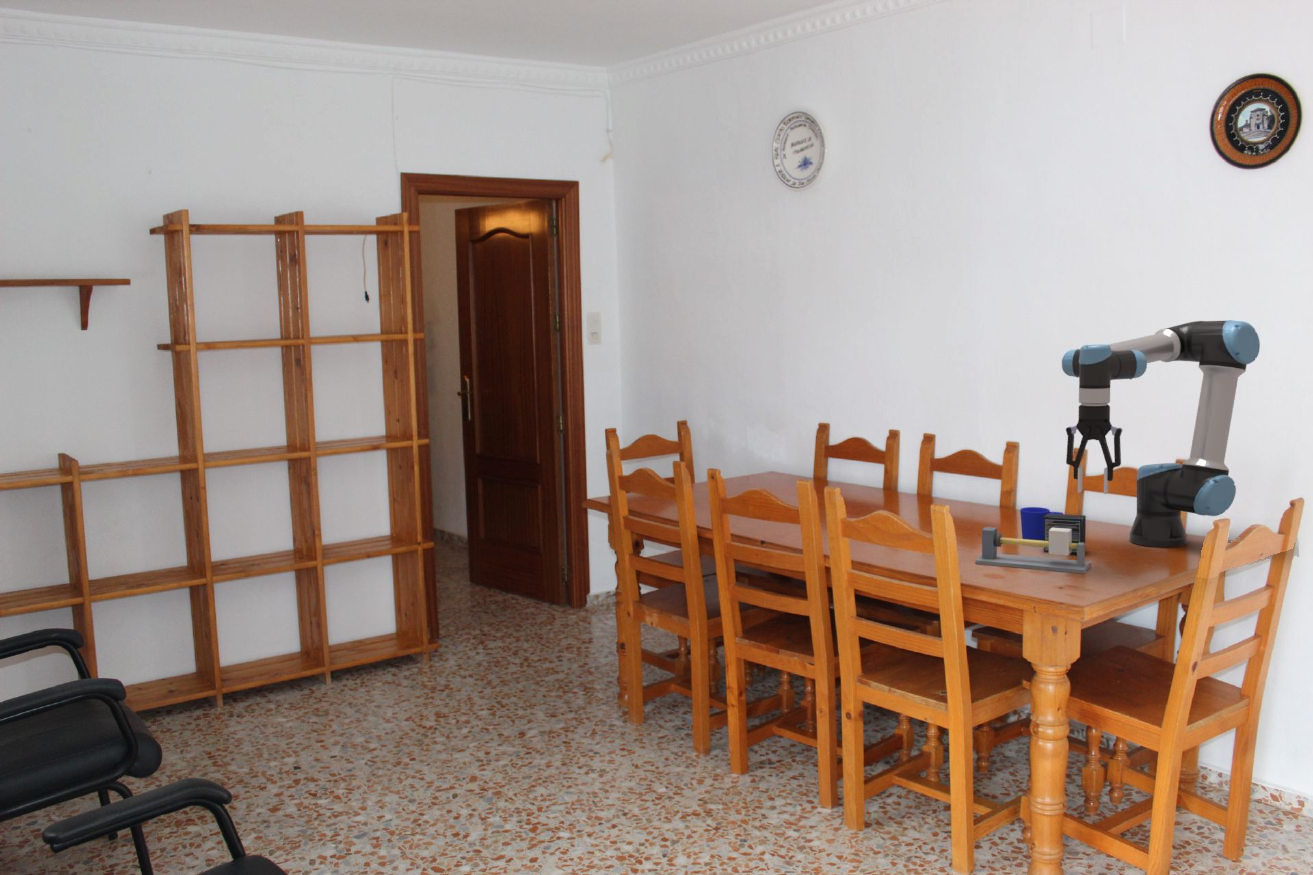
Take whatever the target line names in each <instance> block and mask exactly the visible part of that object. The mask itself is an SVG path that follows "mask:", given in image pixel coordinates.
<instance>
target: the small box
mask: <svg viewBox="0 0 1313 875" xmlns="http://www.w3.org/2000/svg"><path fill="white" fill-rule="evenodd" d="M1086 518H1087V516H1086V515H1080V514H1079V515H1078V514H1066V513H1063V514H1050V513H1048V514H1047V515H1045V516H1044V541H1049V530H1050V529H1051V528H1052V527H1053V528H1067V529H1072V539H1071V543H1079V542H1080V543H1085V544H1086V528H1087V526H1086V525H1087V523H1086ZM1043 553H1046V554H1049V547H1043ZM1069 555H1076V556H1077V549H1071V553H1070V554H1069Z"/></svg>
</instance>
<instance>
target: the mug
mask: <svg viewBox="0 0 1313 875" xmlns="http://www.w3.org/2000/svg"><path fill="white" fill-rule="evenodd" d="M1019 511H1020V524H1021V539H1027V540H1040V541H1044V516H1045V515H1047V514H1048V513H1050V514H1064V513H1063V512H1061V511H1051V510H1050V509H1049V508H1045V507H1038V506H1028V507H1027V506H1026V507H1022V508H1021V507H1020V510H1019Z"/></svg>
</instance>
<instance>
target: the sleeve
mask: <svg viewBox="0 0 1313 875" xmlns="http://www.w3.org/2000/svg"><path fill="white" fill-rule="evenodd" d="M1071 539H1072V529H1067V528H1053V527H1052V528H1051V529H1050V530H1049V553H1048V555H1055V556H1056V555H1057V556H1066V557H1067V556H1070V555H1071V554H1070V553H1071V549H1069V543H1071Z"/></svg>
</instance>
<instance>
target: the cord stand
mask: <svg viewBox="0 0 1313 875" xmlns="http://www.w3.org/2000/svg"><path fill="white" fill-rule="evenodd" d="M1003 544H1004V545H1005V544H1006V545H1015V546H1016V545H1017V546H1018V545H1020V546H1030V547H1031V546H1032V547H1041V548H1044V547H1049V541H1040V540H1027V539H1022V538H1013V537H1012V538H1011V537H1003V535H1002V533H998V527H991V526H985V527H983V529H982V530H981V555H980V556H979V557H977V559H975V565H985V566H996V567H1007V568H1015V569H1016V568H1019V569H1028V570H1038V571H1039V570H1041V571H1050V572H1060V573H1061V572H1062V573H1063V572H1064V573H1070V574H1072V573H1073V574H1083V575H1084V574H1086V572H1087V571H1088V570H1089V568H1090V567H1091V565H1092V563H1091V562H1092V561H1087V560H1086V558H1085V557H1086V556H1085V555H1086V554H1085V553H1086V542H1085V543H1080V542H1079V543H1069V549H1077V555H1076V560H1074V559H1065V558H1053V557H1052V558H1051V557H1049V558H1048V557H1040V556H1030V555H1029V556H1028V555H1017V554H1016V555H1015V554H1007V553H1006V554H1005V553H1004V554H1003V553H998V547H999V548H1001V547H1002V545H1003Z"/></svg>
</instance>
